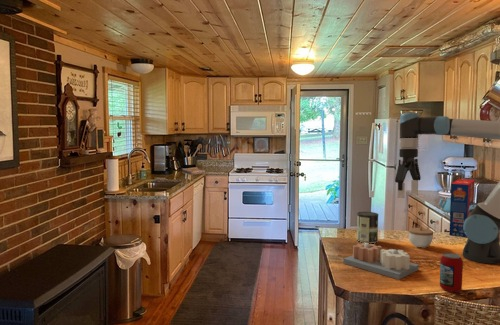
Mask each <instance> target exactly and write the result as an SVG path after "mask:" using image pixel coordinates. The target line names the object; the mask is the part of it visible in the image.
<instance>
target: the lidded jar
mask: <svg viewBox="0 0 500 325" xmlns="http://www.w3.org/2000/svg"><path fill="white" fill-rule="evenodd" d="M408 238H409V241H410V243H411V244H412V245H414V246H416V247H415V248H417V247H422V248H421V249H425V248H424V247H427V248H428V247H429V246H430V245H431V244H432V242H433V239H434V231H433V230H431V229H428V228H423V227H422V226H420V227H411V228H409V229H408Z"/></svg>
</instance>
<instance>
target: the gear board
mask: <svg viewBox="0 0 500 325" xmlns="http://www.w3.org/2000/svg"><path fill="white" fill-rule="evenodd" d="M364 247H366V248H370V244H369V243H365V245H364ZM398 250H399V249H393V250H392V254H398ZM343 264H344V265H348V266H351V267H355V268H358V269H362V270H365V271H369V272H372V273H376V274H378V275H382V276H386V277H389V278H392V279H396V280H401V279H403V278H405V277H407V276H409V275H411V274H413V273H415V272H417V271H418V270H419V265H420V264H416V263H414V262H410V263H409V269H401V270H396V269H395V268H391V269H387V268H385V266H382V265H381V262H380V259H379V260H378V261H373V263H372V262H368V261H365V260H364V261H361V260H359V259H358V258H353V254H352V255H350V256H347V257H344V258H343Z"/></svg>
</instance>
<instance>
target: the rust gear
mask: <svg viewBox="0 0 500 325" xmlns="http://www.w3.org/2000/svg"><path fill="white" fill-rule="evenodd" d="M364 245H365V243H360V242H359V243H356V244H355V245H352V255H353V258H358V259H359V260H361V261H364V260H365V261H368V262H372V263H373V261H378V260H379V259H380V250H382V246H381V245H376V243H374V244H370V248H366V247H364Z"/></svg>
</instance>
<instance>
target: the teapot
mask: <svg viewBox="0 0 500 325" xmlns="http://www.w3.org/2000/svg"><path fill="white" fill-rule="evenodd" d="M450 205H451V197H450V198H449V197H447V198H446V199H443V198H441V199H439V202H438V206H439V207H440V208H441V209H442V211H443V212H444V213H448V214H450Z"/></svg>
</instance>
